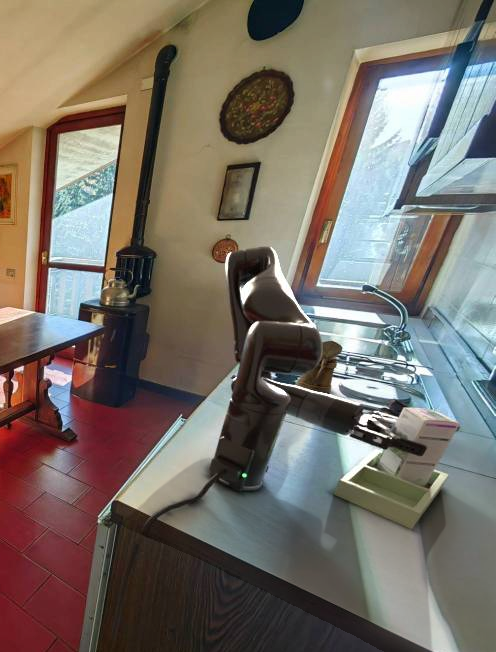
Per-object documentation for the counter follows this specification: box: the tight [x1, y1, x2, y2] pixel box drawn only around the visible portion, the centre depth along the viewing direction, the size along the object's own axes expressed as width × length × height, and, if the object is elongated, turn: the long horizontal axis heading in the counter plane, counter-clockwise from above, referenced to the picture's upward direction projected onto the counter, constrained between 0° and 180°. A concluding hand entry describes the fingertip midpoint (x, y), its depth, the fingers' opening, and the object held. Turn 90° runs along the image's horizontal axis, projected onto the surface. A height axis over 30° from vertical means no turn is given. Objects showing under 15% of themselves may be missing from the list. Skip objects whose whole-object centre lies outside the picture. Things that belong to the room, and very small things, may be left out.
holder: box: [333, 449, 450, 530], centre depth 78 cm, size 21×11×4 cm, turn 123°
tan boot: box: [295, 340, 343, 394], centre depth 123 cm, size 9×14×18 cm, turn 140°
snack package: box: [363, 397, 411, 418], centre depth 107 cm, size 12×6×12 cm
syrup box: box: [375, 407, 461, 486], centre depth 78 cm, size 6×6×14 cm
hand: (430, 445), depth 76 cm, fingers closed on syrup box, 8 cm apart
